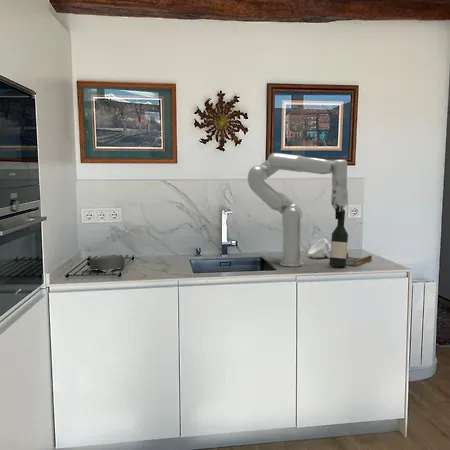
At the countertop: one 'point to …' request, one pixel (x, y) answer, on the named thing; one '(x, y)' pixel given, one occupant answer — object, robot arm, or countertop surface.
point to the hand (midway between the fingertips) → (338, 219)
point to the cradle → (357, 260)
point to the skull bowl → (320, 249)
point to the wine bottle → (339, 244)
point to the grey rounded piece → (106, 262)
